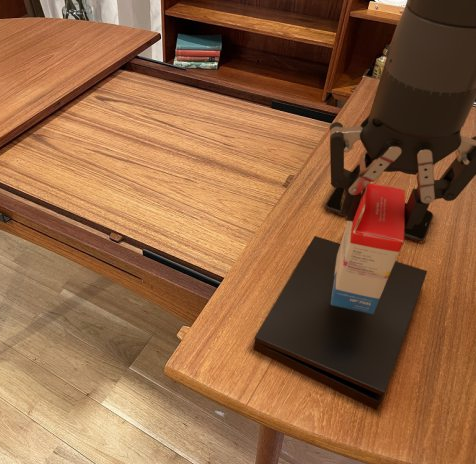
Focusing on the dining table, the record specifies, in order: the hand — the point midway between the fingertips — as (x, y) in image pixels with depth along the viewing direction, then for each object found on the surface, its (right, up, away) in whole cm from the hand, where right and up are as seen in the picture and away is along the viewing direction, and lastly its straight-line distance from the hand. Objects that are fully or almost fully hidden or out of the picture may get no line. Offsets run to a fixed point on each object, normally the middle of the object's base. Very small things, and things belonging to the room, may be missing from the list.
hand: (377, 219), depth 53 cm
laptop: (0, -12, +12) cm, 18 cm away
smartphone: (+11, +2, +26) cm, 29 cm away
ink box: (0, -8, +7) cm, 11 cm away
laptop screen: (0, -11, +11) cm, 15 cm away
